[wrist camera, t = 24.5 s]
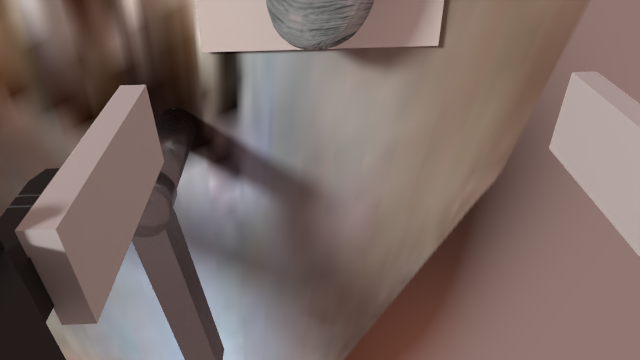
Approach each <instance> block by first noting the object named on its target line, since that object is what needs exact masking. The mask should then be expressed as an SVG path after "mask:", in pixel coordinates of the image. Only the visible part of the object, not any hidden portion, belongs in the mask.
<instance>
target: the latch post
mask: <svg viewBox="0 0 640 360" xmlns="http://www.w3.org/2000/svg"><path fill="white" fill-rule="evenodd" d="M155 125H156V129H157V133H158V138H159V142H160V146H161V150H162V154H163V158H164V163H163V165H162V168H161V170H160V172H162V173H164V174H165V175H167V176H168V177H169V178H170V179H171V180H172V181H173V182H174V184H175V186H176V189H177V186H178V183H179V181H180V178H181V175H182V172H183V169H184V166H185V163H186V160H187V157H188V154H189V152H190V149H191V146H192V143H193V140H194V137H195V134H196V131H197V124H196V121H195V119H194V118H193V117H192V116H191V115H190V114H189V113H188V112H186V111H184V110H182V109H177V108H171V109H167V110H165V111H163V112H162V113H161V114H160V116H159V117H158V119H157V121H156V123H155Z"/></svg>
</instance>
